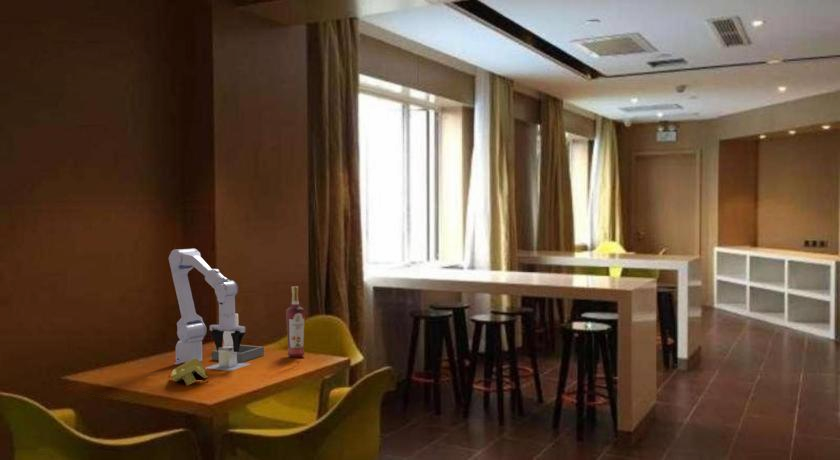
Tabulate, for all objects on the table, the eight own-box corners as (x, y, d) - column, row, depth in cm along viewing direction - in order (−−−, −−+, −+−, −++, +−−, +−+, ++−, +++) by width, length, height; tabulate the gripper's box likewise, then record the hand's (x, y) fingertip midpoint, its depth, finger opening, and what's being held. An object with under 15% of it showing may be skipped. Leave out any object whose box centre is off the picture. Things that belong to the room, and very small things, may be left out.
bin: (212, 362, 274) (211, 351, 274) (234, 355, 287) (234, 344, 287) (242, 365, 268) (241, 353, 268) (263, 358, 281) (263, 346, 281)
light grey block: (218, 366, 261) (218, 347, 261) (226, 364, 265) (226, 345, 265) (229, 367, 259) (228, 348, 259) (237, 365, 264) (236, 346, 263)
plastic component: (173, 369, 253) (199, 355, 255) (182, 387, 253) (209, 373, 256) (169, 377, 234) (197, 362, 236) (180, 397, 234) (208, 382, 237)
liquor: (290, 359, 278) (289, 288, 277) (284, 356, 284) (282, 286, 283) (308, 357, 281) (307, 287, 280) (301, 354, 288) (300, 285, 287)
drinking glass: (242, 349, 300) (241, 313, 300) (231, 352, 294) (231, 315, 294) (229, 347, 303) (228, 312, 303) (218, 350, 297) (218, 315, 296)
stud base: (204, 371, 259) (203, 356, 259) (225, 364, 270) (224, 350, 270) (231, 374, 254) (230, 358, 254) (251, 367, 266) (251, 352, 265)
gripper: (203, 314, 261) (204, 351, 261) (236, 316, 255) (237, 354, 256) (216, 312, 267) (217, 348, 268) (248, 313, 262) (249, 350, 262)
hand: (227, 350), depth 262 cm, fingers open, 7 cm apart
